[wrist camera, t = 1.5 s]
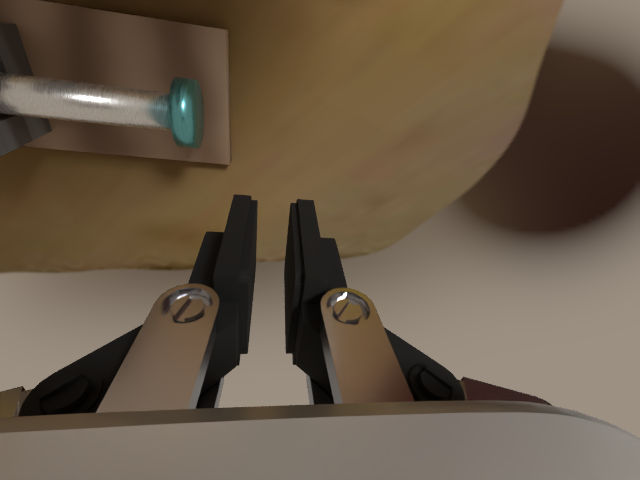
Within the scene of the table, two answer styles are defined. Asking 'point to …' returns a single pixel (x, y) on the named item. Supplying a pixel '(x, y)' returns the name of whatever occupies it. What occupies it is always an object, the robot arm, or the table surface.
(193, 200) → the table surface
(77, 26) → the shaft frame
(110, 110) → the shaft
